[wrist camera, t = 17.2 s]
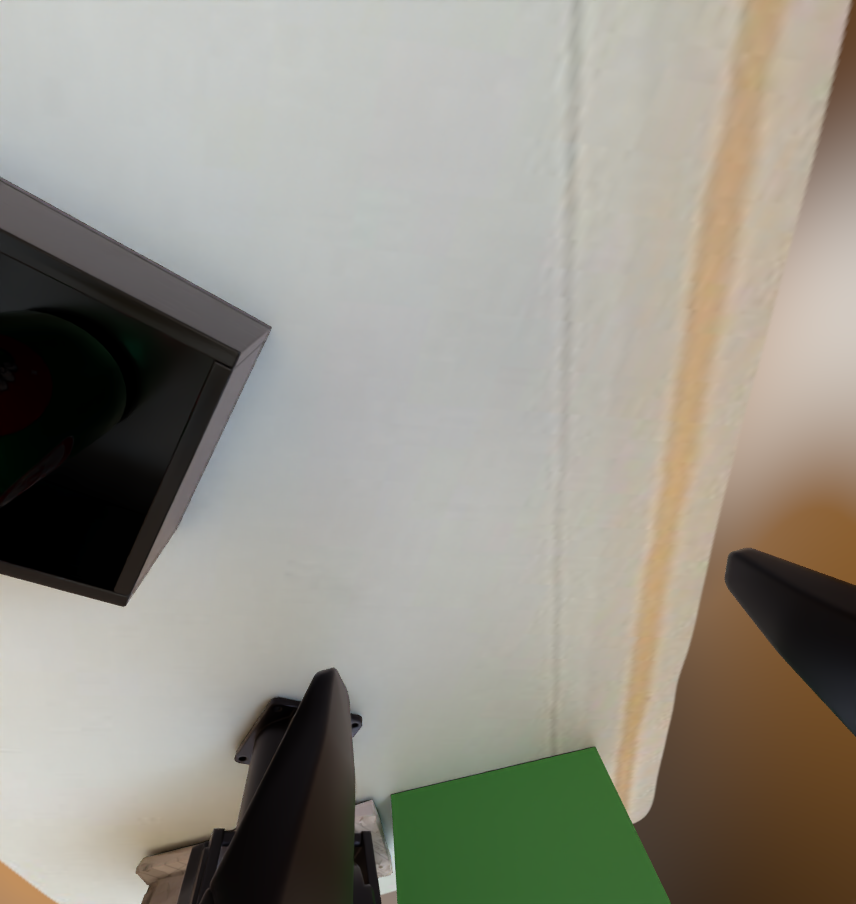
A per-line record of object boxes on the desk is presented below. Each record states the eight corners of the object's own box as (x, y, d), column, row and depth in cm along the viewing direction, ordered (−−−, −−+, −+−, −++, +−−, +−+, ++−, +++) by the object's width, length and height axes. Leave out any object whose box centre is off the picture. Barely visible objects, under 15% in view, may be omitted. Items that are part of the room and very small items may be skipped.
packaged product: (166, 991, 31) (106, 946, 27) (189, 902, 36) (141, 851, 31) (397, 928, 33) (377, 876, 28) (392, 850, 37) (374, 794, 33)
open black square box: (176, 529, 20) (124, 608, 15) (-157, 415, 16) (-362, 478, 11) (272, 326, 17) (241, 352, 12) (-116, 112, 12) (-383, 31, 8)
